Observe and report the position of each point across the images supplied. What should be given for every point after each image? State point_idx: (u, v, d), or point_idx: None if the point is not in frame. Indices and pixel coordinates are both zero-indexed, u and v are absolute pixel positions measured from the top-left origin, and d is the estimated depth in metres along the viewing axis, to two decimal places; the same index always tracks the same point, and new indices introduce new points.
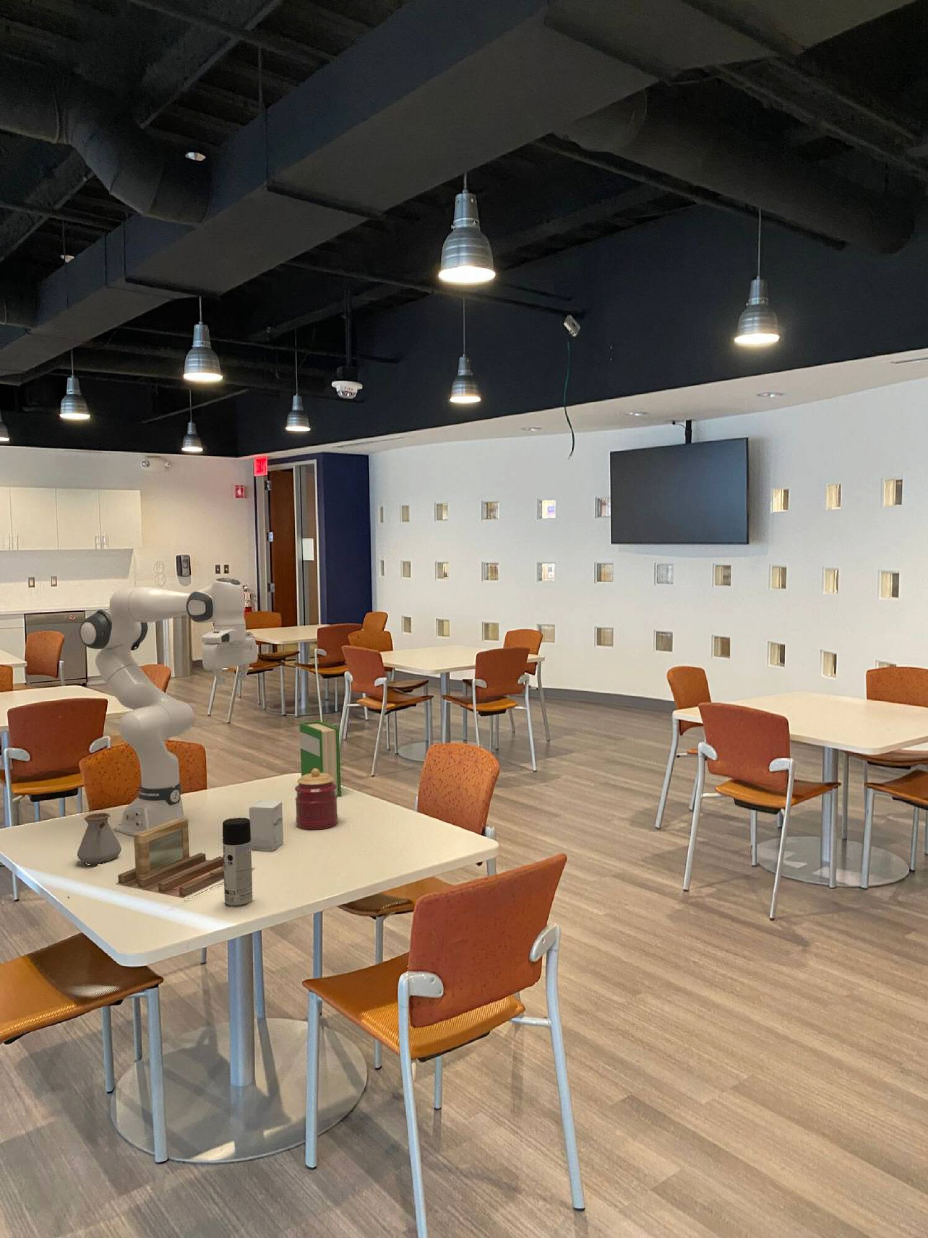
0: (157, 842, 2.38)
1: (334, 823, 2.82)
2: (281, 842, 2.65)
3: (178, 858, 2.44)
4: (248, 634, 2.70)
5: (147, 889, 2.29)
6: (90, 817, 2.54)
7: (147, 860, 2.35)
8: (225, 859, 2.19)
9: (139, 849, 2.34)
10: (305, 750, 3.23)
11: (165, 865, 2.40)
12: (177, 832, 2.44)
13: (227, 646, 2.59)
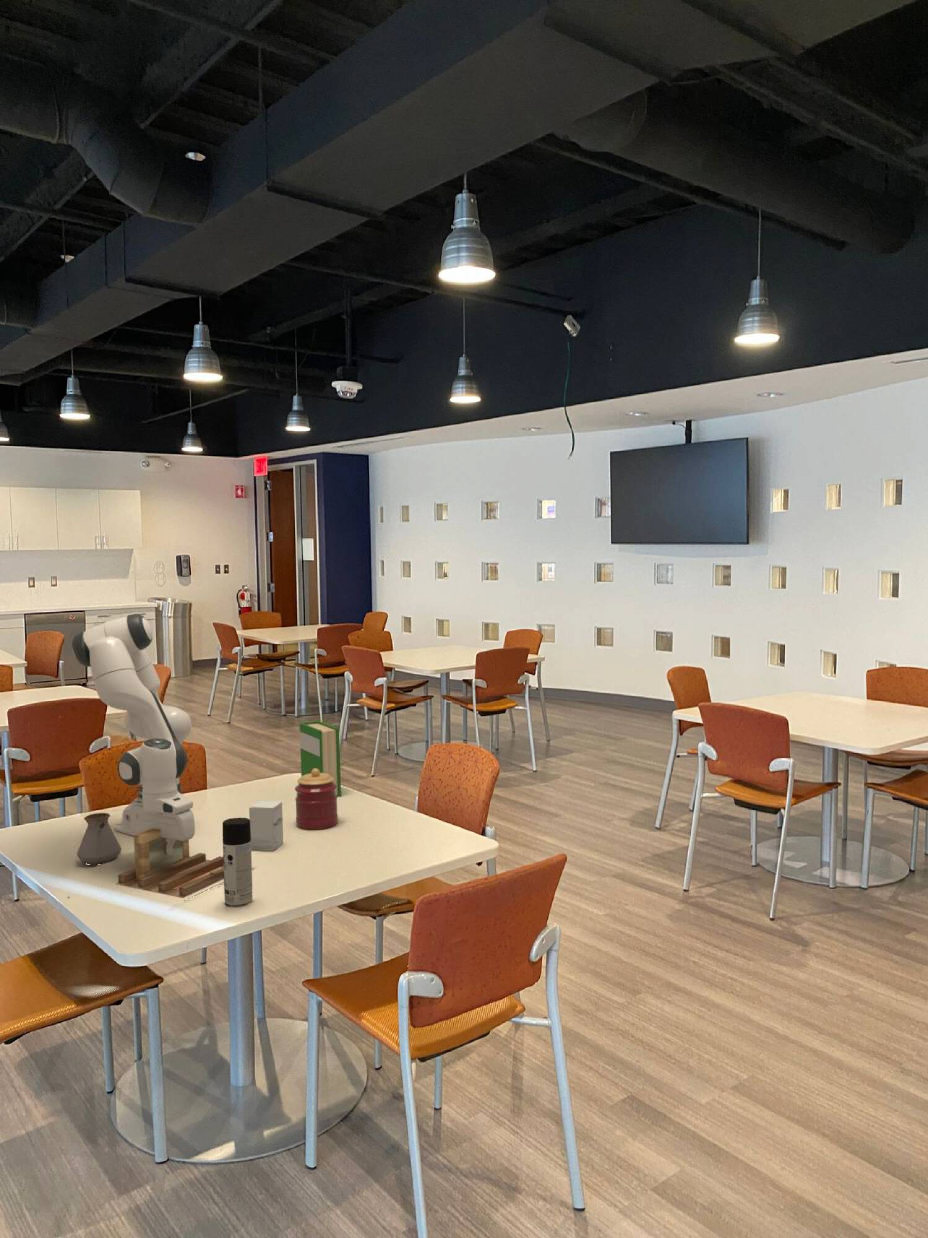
0: (156, 842, 2.38)
1: (334, 823, 2.82)
2: (281, 842, 2.65)
3: (178, 858, 2.44)
4: None
5: (147, 889, 2.29)
6: (90, 817, 2.54)
7: (147, 860, 2.35)
8: (225, 859, 2.19)
9: (139, 849, 2.34)
10: (305, 750, 3.23)
11: (165, 864, 2.40)
12: None
13: None
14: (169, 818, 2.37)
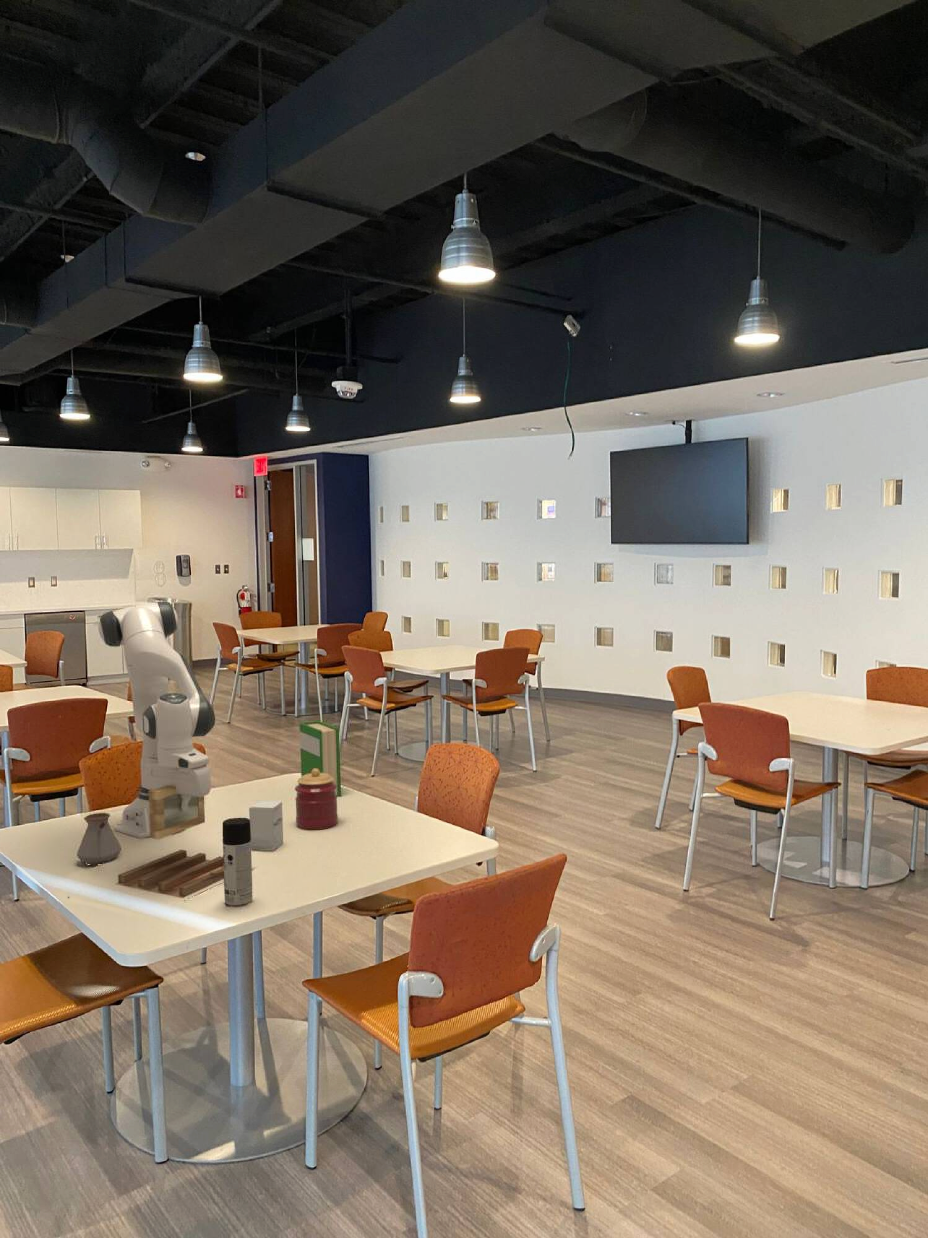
0: (171, 799, 2.33)
1: (334, 823, 2.82)
2: (281, 842, 2.65)
3: (193, 817, 2.40)
4: None
5: (147, 889, 2.29)
6: (90, 817, 2.54)
7: (162, 817, 2.30)
8: (225, 859, 2.19)
9: (154, 806, 2.29)
10: (305, 750, 3.23)
11: (180, 822, 2.36)
12: None
13: None
14: (184, 774, 2.32)
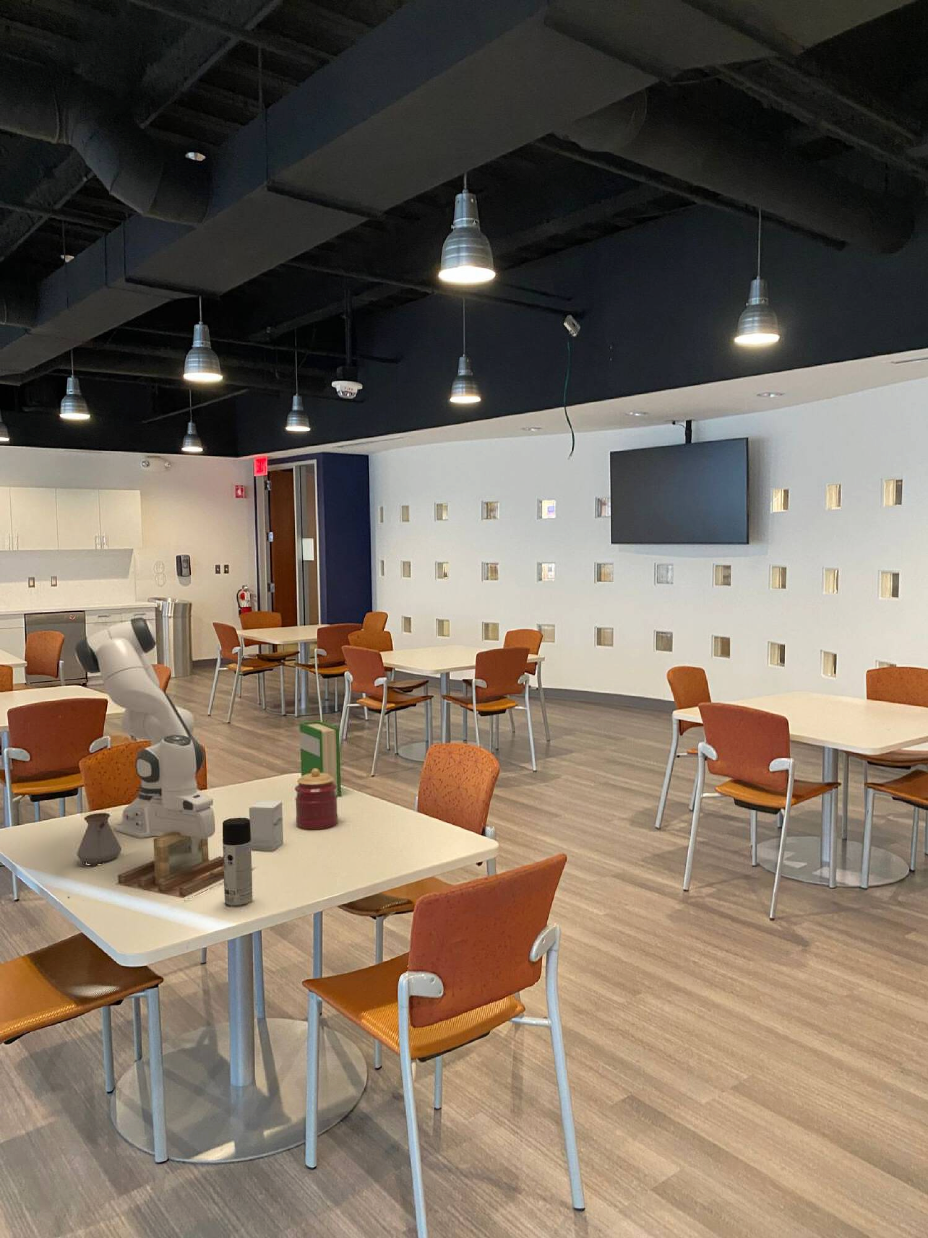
0: (176, 845, 2.34)
1: (334, 823, 2.82)
2: (281, 842, 2.65)
3: (197, 862, 2.41)
4: None
5: (147, 889, 2.29)
6: (90, 817, 2.54)
7: (167, 864, 2.31)
8: (225, 859, 2.19)
9: (159, 853, 2.30)
10: (305, 750, 3.23)
11: (184, 868, 2.37)
12: None
13: None
14: (189, 815, 2.33)
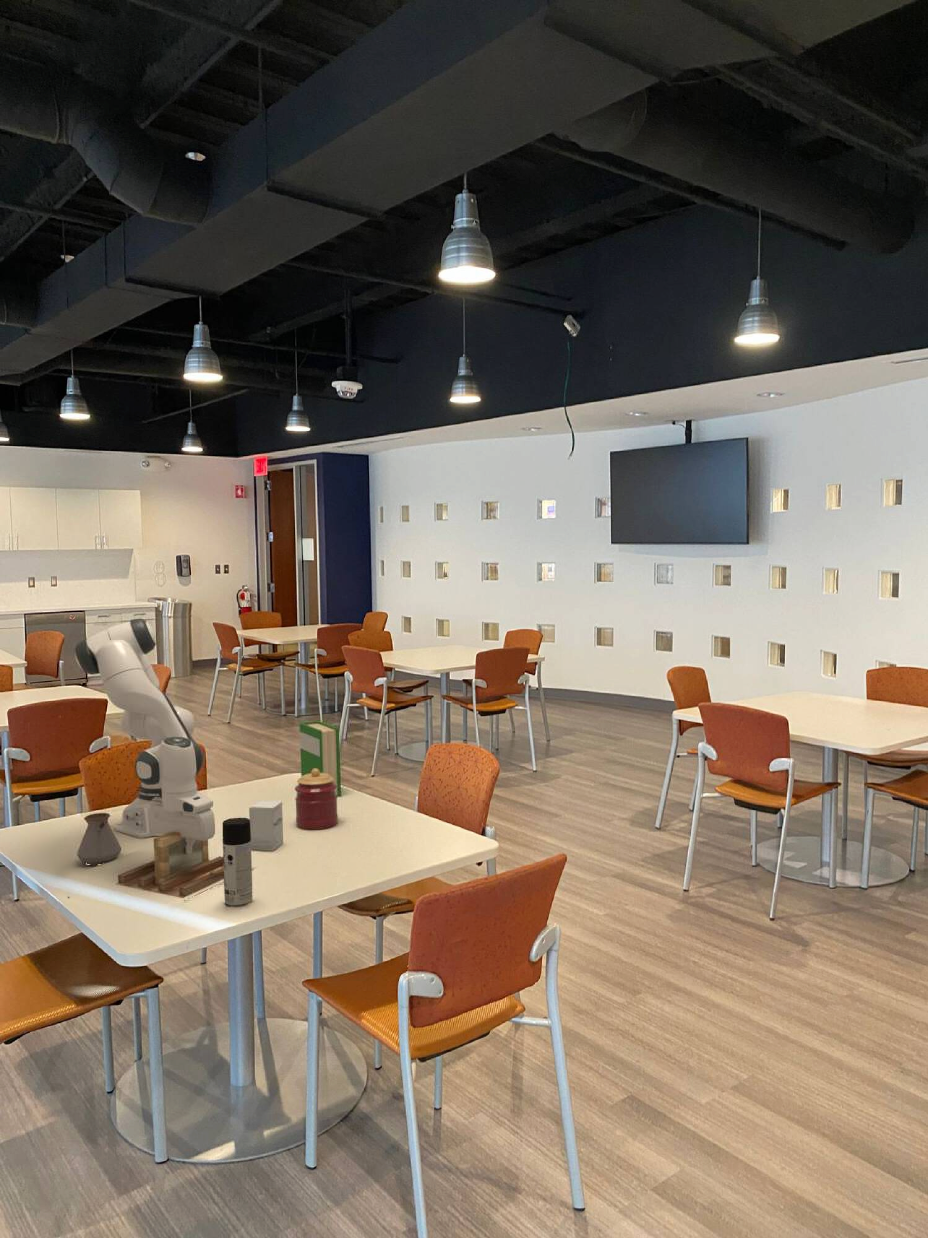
0: (176, 845, 2.34)
1: (334, 823, 2.82)
2: (281, 842, 2.65)
3: (197, 862, 2.41)
4: None
5: (147, 889, 2.29)
6: (90, 817, 2.54)
7: (167, 864, 2.31)
8: (225, 859, 2.19)
9: (159, 853, 2.30)
10: (305, 750, 3.23)
11: (184, 868, 2.37)
12: None
13: None
14: (189, 817, 2.33)
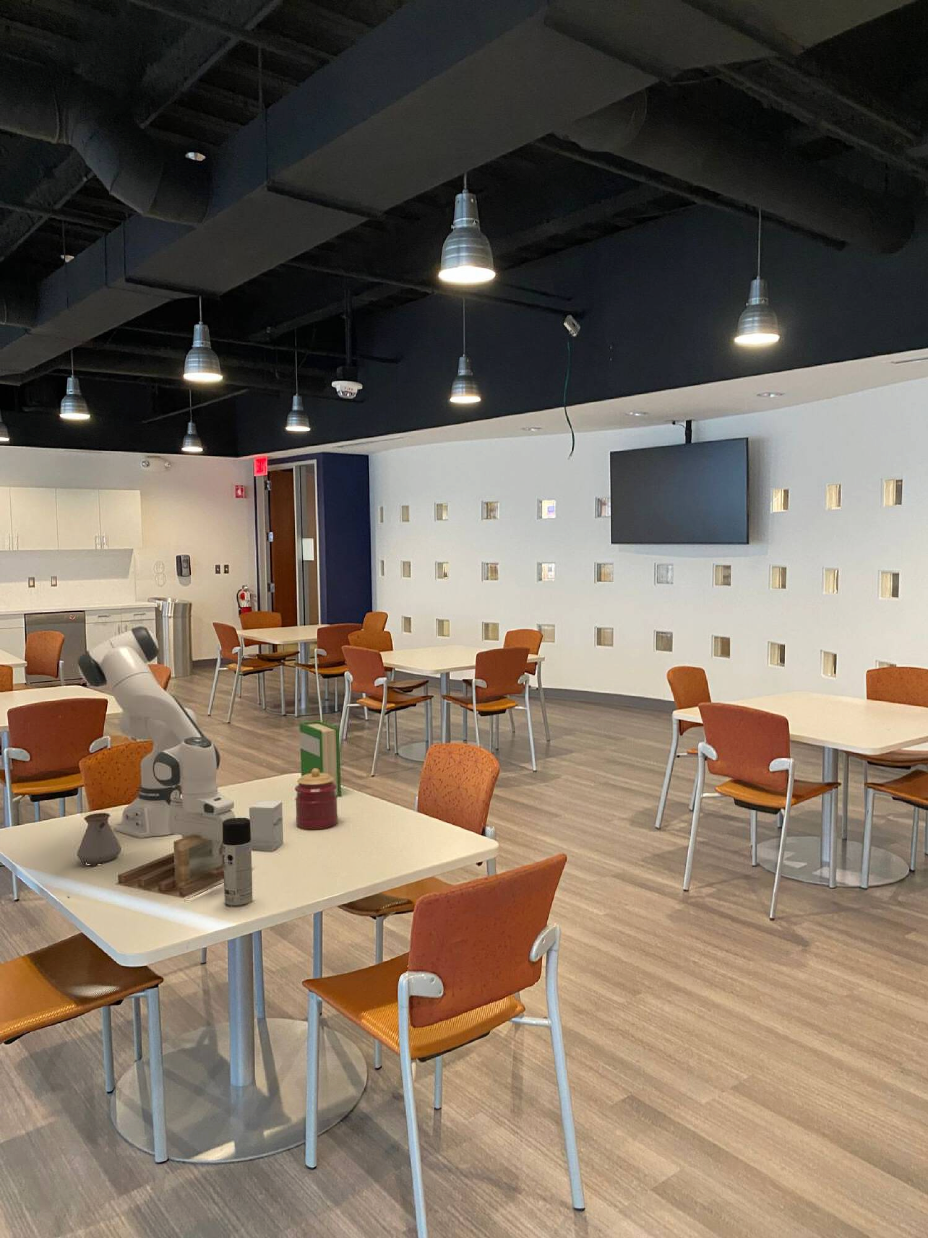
0: (196, 849, 2.31)
1: (334, 823, 2.82)
2: (281, 842, 2.65)
3: (217, 865, 2.38)
4: None
5: (147, 889, 2.29)
6: (90, 817, 2.54)
7: (187, 867, 2.28)
8: (225, 859, 2.19)
9: (179, 856, 2.27)
10: (305, 750, 3.23)
11: (204, 872, 2.34)
12: None
13: None
14: (210, 819, 2.30)
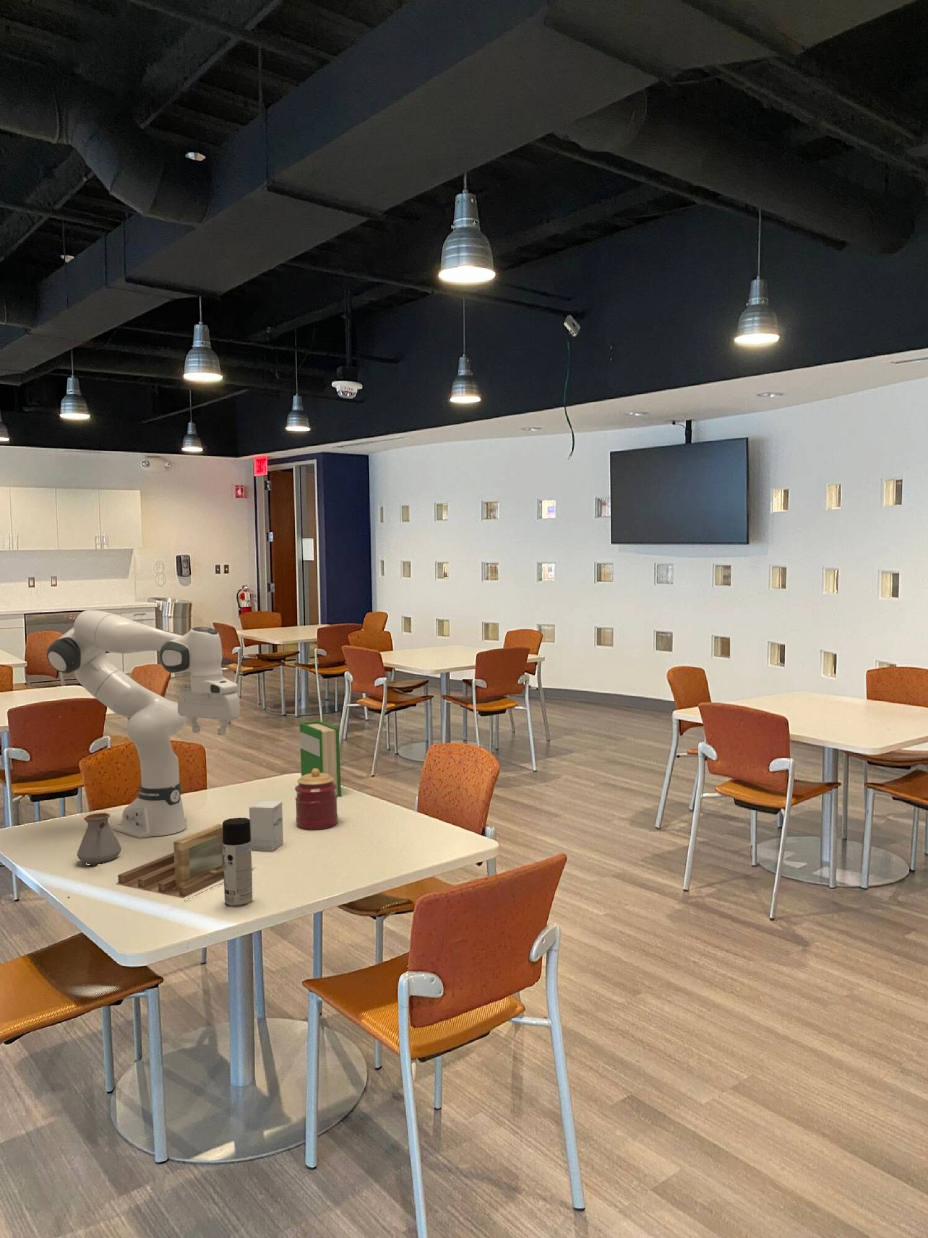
0: (196, 849, 2.31)
1: (334, 823, 2.82)
2: (281, 842, 2.65)
3: (217, 865, 2.38)
4: None
5: (147, 889, 2.29)
6: (90, 817, 2.54)
7: (187, 867, 2.28)
8: (225, 859, 2.19)
9: (179, 856, 2.27)
10: (305, 750, 3.23)
11: (204, 872, 2.34)
12: (217, 839, 2.38)
13: None
14: (216, 699, 2.53)
